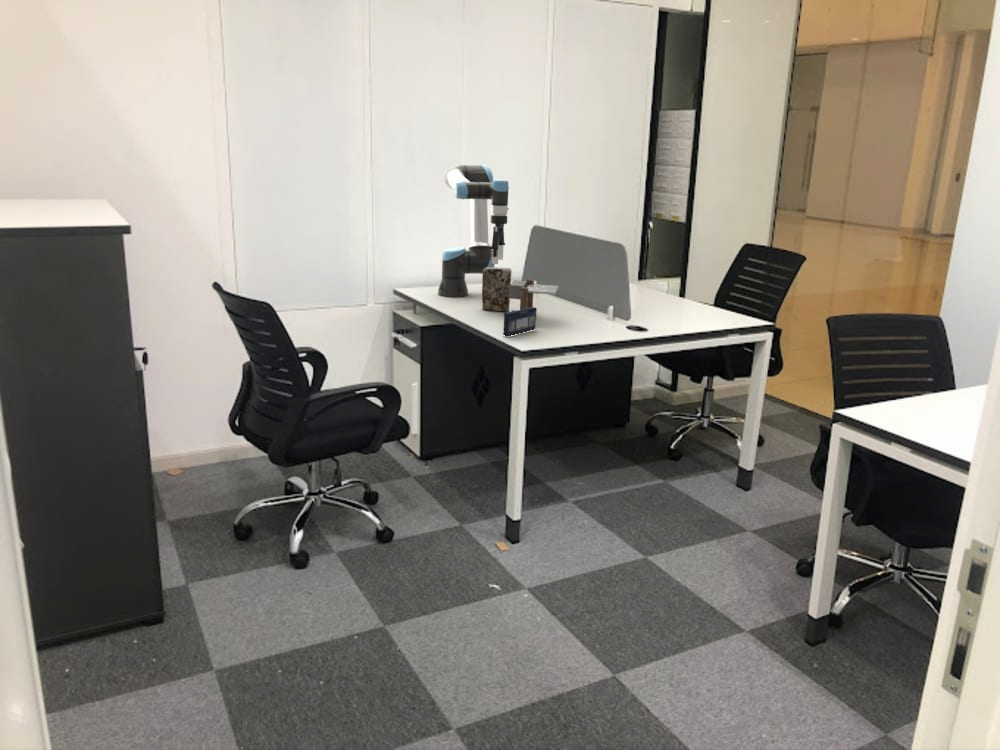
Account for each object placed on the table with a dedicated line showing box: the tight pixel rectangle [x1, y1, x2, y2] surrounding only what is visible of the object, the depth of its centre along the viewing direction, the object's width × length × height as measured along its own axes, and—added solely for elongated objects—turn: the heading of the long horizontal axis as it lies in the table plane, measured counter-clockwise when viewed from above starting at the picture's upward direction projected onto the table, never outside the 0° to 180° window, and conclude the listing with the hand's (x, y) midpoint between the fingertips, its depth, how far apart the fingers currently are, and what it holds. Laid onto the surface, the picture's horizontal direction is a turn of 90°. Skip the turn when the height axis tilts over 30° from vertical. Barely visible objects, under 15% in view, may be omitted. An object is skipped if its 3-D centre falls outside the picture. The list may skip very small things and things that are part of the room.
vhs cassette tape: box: [502, 306, 538, 336], centre depth 333 cm, size 18×3×10 cm, turn 137°
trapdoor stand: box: [511, 278, 535, 312], centre depth 358 cm, size 11×24×16 cm, turn 170°
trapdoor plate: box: [509, 279, 559, 300], centre depth 356 cm, size 20×16×6 cm
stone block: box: [481, 266, 513, 313], centre depth 371 cm, size 13×7×20 cm, turn 88°
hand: (497, 261), depth 367 cm, fingers open, 13 cm apart
